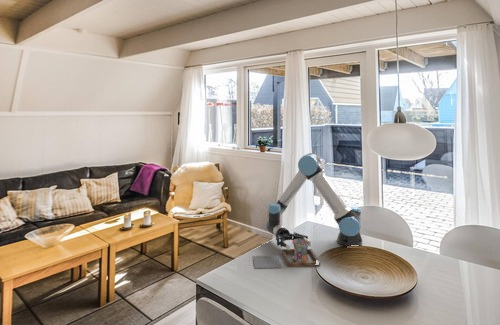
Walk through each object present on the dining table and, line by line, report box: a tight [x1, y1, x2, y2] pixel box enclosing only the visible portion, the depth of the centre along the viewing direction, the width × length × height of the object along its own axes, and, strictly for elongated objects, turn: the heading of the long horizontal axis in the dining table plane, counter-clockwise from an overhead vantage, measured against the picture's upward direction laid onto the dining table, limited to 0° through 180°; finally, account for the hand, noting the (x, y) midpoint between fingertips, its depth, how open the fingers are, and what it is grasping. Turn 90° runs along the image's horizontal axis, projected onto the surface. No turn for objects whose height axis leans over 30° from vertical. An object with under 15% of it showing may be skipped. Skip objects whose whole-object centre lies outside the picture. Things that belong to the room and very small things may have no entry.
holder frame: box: [281, 248, 319, 268], centre depth 163 cm, size 17×17×2 cm
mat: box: [252, 255, 282, 270], centre depth 159 cm, size 14×14×1 cm
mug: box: [291, 239, 310, 262], centre depth 162 cm, size 12×9×11 cm
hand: (300, 245), depth 161 cm, fingers open, 13 cm apart
